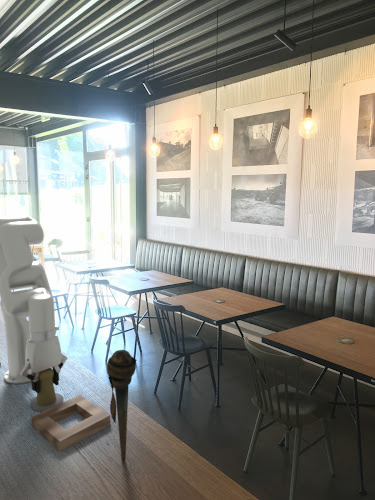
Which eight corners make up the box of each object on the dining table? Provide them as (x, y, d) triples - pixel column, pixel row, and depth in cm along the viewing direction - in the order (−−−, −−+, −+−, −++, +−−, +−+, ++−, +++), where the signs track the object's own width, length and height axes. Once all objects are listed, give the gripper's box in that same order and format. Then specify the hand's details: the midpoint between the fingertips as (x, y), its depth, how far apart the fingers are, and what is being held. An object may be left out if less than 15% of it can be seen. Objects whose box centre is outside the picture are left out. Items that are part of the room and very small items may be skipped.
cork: (49, 407, 121) (47, 374, 119) (32, 404, 123) (30, 372, 121) (60, 397, 127) (58, 365, 125) (43, 394, 128) (41, 363, 127)
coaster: (24, 403, 125) (24, 401, 124) (53, 391, 132) (53, 389, 132) (39, 415, 118) (39, 414, 118) (69, 402, 125) (69, 400, 125)
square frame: (31, 426, 113) (31, 416, 113) (80, 403, 125) (79, 394, 124) (60, 451, 102) (59, 441, 102) (110, 424, 114) (110, 415, 114)
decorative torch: (127, 448, 104) (125, 342, 99) (142, 462, 99) (140, 351, 93) (104, 460, 99) (100, 349, 94) (119, 475, 94) (115, 359, 89)
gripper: (61, 323, 130) (64, 374, 133) (9, 338, 117) (13, 393, 120) (73, 329, 125) (76, 381, 128) (20, 345, 112) (25, 403, 115)
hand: (46, 387), depth 124 cm, fingers open, 5 cm apart
